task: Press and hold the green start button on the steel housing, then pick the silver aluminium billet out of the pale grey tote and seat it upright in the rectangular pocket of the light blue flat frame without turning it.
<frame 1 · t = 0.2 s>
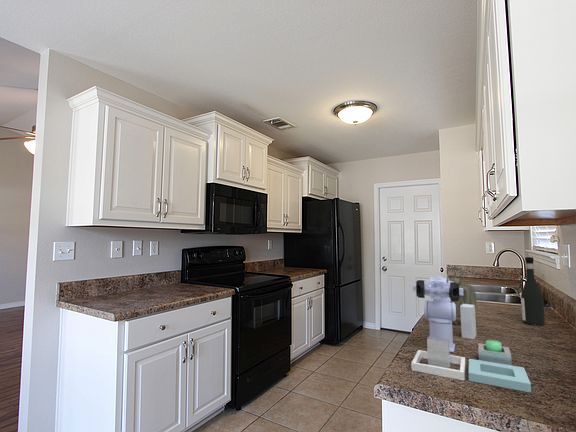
hand: (435, 292, 94), 21 cm above the counter, tool horizontal, fingers open, 7 cm apart
skincare box: (468, 337, 122), on the counter
button housing: (494, 362, 95), on the counter
billet: (438, 353, 91), in the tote
light blue flat frame: (497, 377, 84), on the counter
wine bottle: (533, 324, 143), on the counter
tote: (439, 367, 91), on the counter
start button: (493, 347, 95), point 4 cm above the counter, slide at 0.0 cm
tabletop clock: (456, 324, 142), on the counter
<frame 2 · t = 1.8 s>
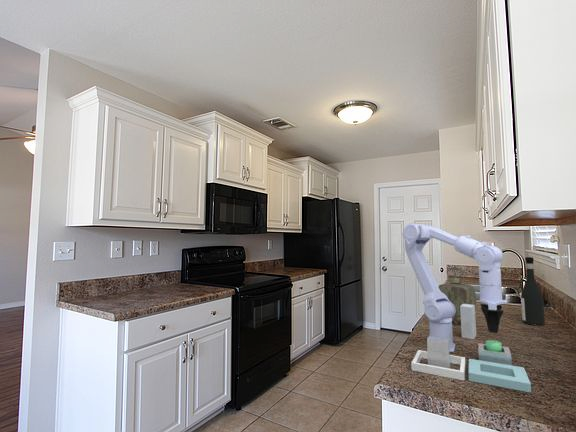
hand: (492, 330, 96), 9 cm above the counter, tool pointing down, fingers open, 5 cm apart
nothing on the counter moved.
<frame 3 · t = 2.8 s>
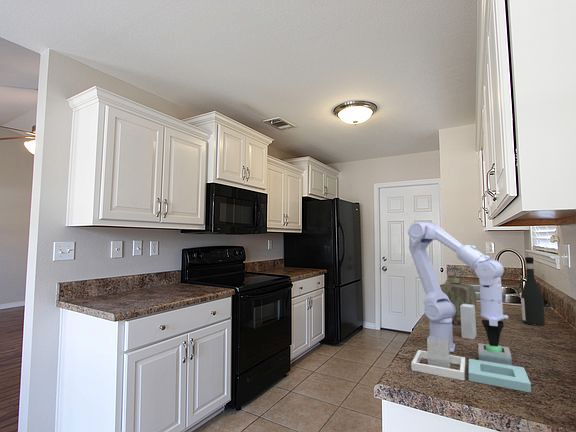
hand: (493, 345, 95), 5 cm above the counter, tool pointing down, fingers closed, pressing on start button
start button: (493, 351, 95), point 3 cm above the counter, slide at 1.0 cm, touching gripper
everything else where it was.
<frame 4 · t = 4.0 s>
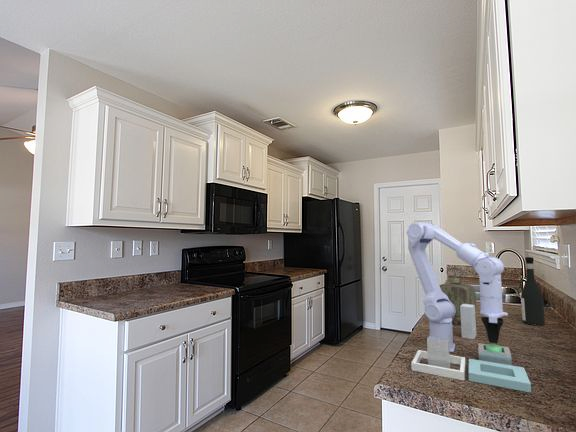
hand: (493, 342, 96), 6 cm above the counter, tool pointing down, fingers closed
start button: (493, 352, 95), point 3 cm above the counter, slide at 1.2 cm
everything else where it was.
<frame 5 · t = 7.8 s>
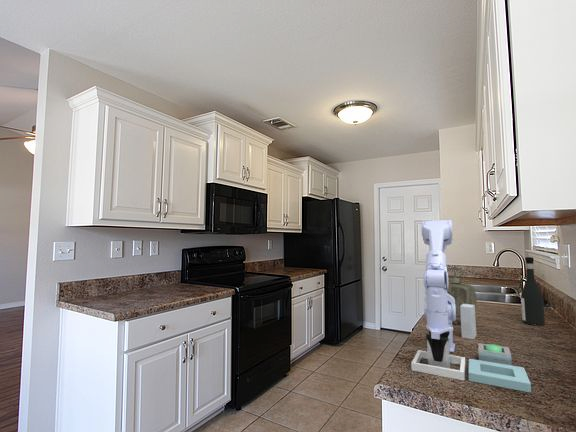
hand: (438, 358, 91), 2 cm above the counter, tool pointing down, fingers closed on billet, 4 cm apart
billet: (438, 353, 91), in the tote, touching gripper
everything else where it was.
when the fingers open (3 cm above the counter, at t = 13.4 s): billet stays where it is, resting in light blue flat frame.
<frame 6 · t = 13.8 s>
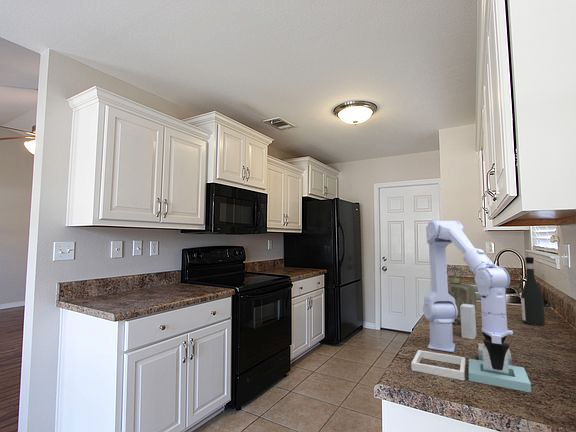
hand: (496, 364, 84), 3 cm above the counter, tool pointing down, fingers open, 7 cm apart
billet: (495, 362, 84), in the light blue flat frame
everything else where it was.
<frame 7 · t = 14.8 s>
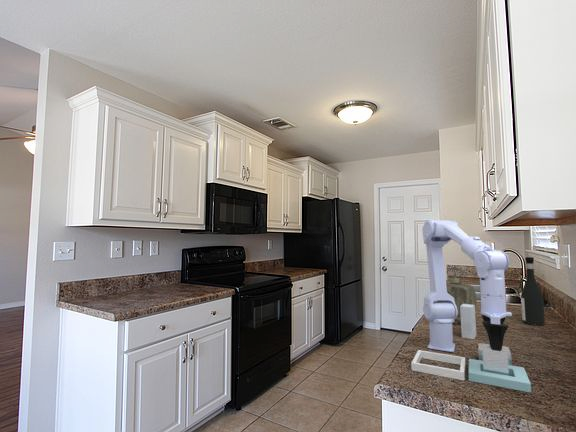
hand: (495, 346, 85), 8 cm above the counter, tool pointing down, fingers open, 7 cm apart
nothing on the counter moved.
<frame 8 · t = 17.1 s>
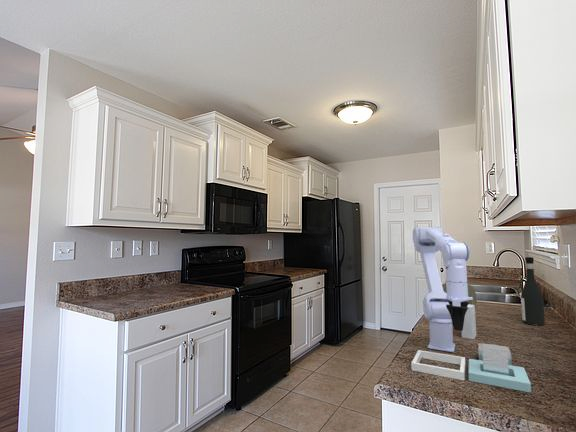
hand: (458, 327, 95), 10 cm above the counter, tool pointing down, fingers open, 7 cm apart
nothing on the counter moved.
at the end: billet 0.3 cm off-centre on the light blue flat frame, point 3.9 cm above the light blue flat frame's base; billet tilted 0°; start button slide at 1.2 cm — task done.
